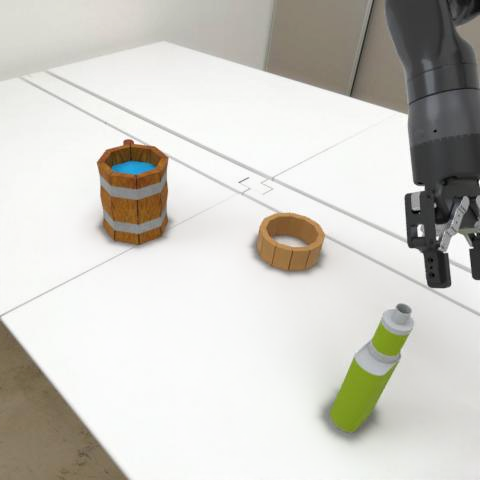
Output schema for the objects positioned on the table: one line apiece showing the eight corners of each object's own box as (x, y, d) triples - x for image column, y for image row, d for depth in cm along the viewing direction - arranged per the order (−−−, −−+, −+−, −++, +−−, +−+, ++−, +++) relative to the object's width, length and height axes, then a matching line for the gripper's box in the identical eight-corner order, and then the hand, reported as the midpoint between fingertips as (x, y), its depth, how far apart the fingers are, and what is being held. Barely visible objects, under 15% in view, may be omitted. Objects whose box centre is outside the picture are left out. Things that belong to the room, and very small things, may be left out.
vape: (375, 410, 62) (430, 310, 49) (349, 437, 59) (400, 337, 46) (351, 391, 64) (397, 290, 51) (325, 416, 61) (367, 315, 49)
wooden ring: (324, 241, 90) (329, 222, 87) (311, 278, 82) (317, 258, 79) (266, 226, 94) (270, 206, 91) (249, 259, 86) (252, 239, 83)
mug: (173, 241, 90) (174, 175, 80) (104, 247, 89) (97, 181, 79) (159, 188, 105) (159, 127, 96) (100, 193, 104) (94, 132, 94)
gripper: (443, 126, 45) (460, 292, 44) (519, 133, 51) (535, 277, 51) (375, 146, 51) (390, 290, 51) (450, 149, 58) (464, 277, 57)
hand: (462, 283), depth 51 cm, fingers open, 8 cm apart
